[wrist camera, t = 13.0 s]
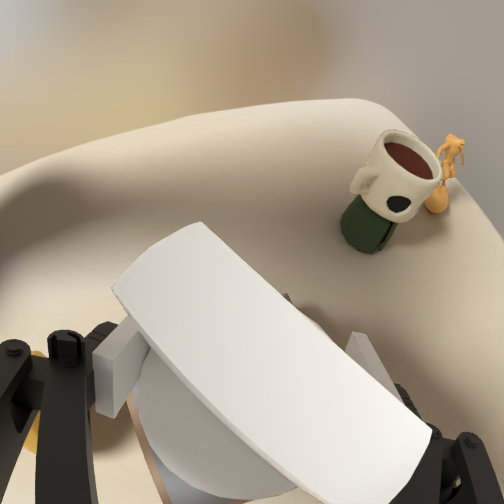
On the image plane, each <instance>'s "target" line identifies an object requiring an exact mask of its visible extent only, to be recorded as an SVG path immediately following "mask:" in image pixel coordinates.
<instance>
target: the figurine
mask: <svg viewBox="0 0 504 504" xmlns="http://www.w3.org/2000/svg"><path fill="white" fill-rule="evenodd" d="M464 144H465V141H464V140H463V139H459V138H457V137H456V136H455V135H453V134H449V135H447V136H446V139H445V144H443V145H442V146H441V147H440V148H439V149H438V151H437V157H438V159H439V158H440V154H441V152H442V150H445V159H444V160H443V161H442V169H443V174H444V176H442V179H441V180H442V186H440V183H439V184H438V185H437V187H436V188H435V189H434V191H433V193H432V194H431V195H430V196H429V197H428V198H427V199H426V200H425V201H424V204H425V206H426V207H427V209H428V210H430V211H431V212H433V213H441V212H443V211H444V210H446V208H447V207H448V205H449V195H448V193H447V188H446V186H445V180H447V179H448V178H453V177H455V175H456V174H455V166H454V165H455V159H454V157H455V156H456V155H458V153H459V152H460V154H461V158H462V166H463V164H464V155H463V151H462V150H463V149H462V148H463V147H464ZM449 173H450V174H449Z"/></svg>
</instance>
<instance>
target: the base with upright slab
mask: <svg viewBox="0 0 504 504" xmlns="http://www.w3.org/2000/svg"><path fill="white" fill-rule="evenodd" d="M111 289H112V291H113V292H114V294H115V295H116V297H117V299H118V300H119V302H120V303H121V305H122V306H123V308H124V309H125V311H126V312H127V314H128V315H129V317H130V318H131V320H132V321H133V323H134V324H135V326H136V327H137V329H138V330H139V331H140V333H141V334H142V336H143V337H144V339H145V340H146V341H147V343H148V344H149V346H150V347H151V349H150V351H149V353H148V355H147V357H146V358H145V360H144V362H143V364H142V369H141V374H140V379H139V384H138V389H137V396H138V408H139V418H140V421H141V424H142V427H143V429H144V432H145V434H146V437H147V439H148V442H149V444H150V446H151V448H152V449H153V450H154V452H155V453H156V454H157V456H158V457H159V458H160V459H161V461H162V462H163V463H164V465H165V466H166V467H167V468H168V469H169V470H170V471H171V472H173V473H174V474H175V475H177V476H178V477H179V478H181V479H182V480H184V481H185V482H186V483H188V484H189V485H190V486H192V487H194V488H197V489H199V490H202V491H204V492H207V493H210V494H212V495H215V496H218V497H222V498H231V499H241V500H255V499H261V498H267V497H273V496H278V495H281V494H283V493H286V492H288V491H290V490H292V489H294V488H296V487H299V488H300V489H302V490H303V491H305V492H307V493H308V494H310V495H312V496H313V497H315V498H316V499H318V500H320V501H321V502H323V503H325V504H388V503H389V502H390V501H391V500H392V499H393V498H394V497H395V496H396V495H397V494H398V493H399V492H400V491H401V490H402V488H403V487H404V486H405V485H406V484H407V483H408V481H409V480H410V478H411V476H412V474H413V473H414V471H415V469H416V467H417V465H418V464H419V462H420V460H421V458H422V456H423V454H424V452H425V450H426V448H427V446H428V444H429V441H430V438H431V434H432V429H431V428H430V427H429V426H427V425H426V424H425V423H424V422H423V421H422V420H421V419H419V418H418V417H417V416H416V415H415V414H414V413H413V412H411V411H410V410H409V409H408V408H407V407H406V406H405V405H403V404H402V403H401V402H400V401H399V400H398V399H397V398H396V397H394V396H393V395H392V394H391V393H390V392H389V391H388V390H386V389H385V388H384V387H383V386H382V385H381V384H380V383H379V382H377V381H376V380H375V379H374V378H373V377H372V376H371V375H370V374H368V373H367V372H366V371H365V370H364V369H363V368H362V367H361V366H359V365H358V364H357V363H356V362H355V361H354V360H353V359H352V358H351V357H349V356H348V355H347V354H346V353H345V352H344V351H343V350H342V349H340V348H339V347H338V346H337V345H336V344H335V343H334V342H333V341H332V339H331V338H330V337H329V336H328V335H327V334H326V333H325V331H324V330H323V329H322V328H321V327H320V326H319V325H318V324H317V323H316V322H314V321H313V320H311V319H310V318H309V317H307V316H306V315H304V314H303V313H301V312H300V311H299V310H297V309H296V308H295V307H294V306H293V305H292V304H291V303H290V302H288V301H287V300H286V299H285V298H284V297H283V296H282V295H281V294H280V293H279V292H277V291H276V290H275V289H274V288H273V287H272V286H271V285H270V284H269V283H268V282H267V281H265V280H264V279H263V278H262V277H261V276H260V275H259V274H258V273H257V272H256V271H254V270H253V269H252V268H251V267H250V266H249V265H248V264H247V263H246V262H245V261H244V260H243V259H241V258H240V257H239V256H238V255H237V254H236V253H235V252H234V251H233V250H232V249H231V248H229V247H228V246H227V245H226V244H225V243H224V242H223V241H222V240H221V239H220V238H219V237H218V236H216V235H215V234H214V233H213V232H212V231H211V230H210V229H209V228H208V227H207V226H206V225H205V224H204V223H202V222H197V223H193V224H190V225H187V226H185V227H184V228H182V229H180V230H178V231H176V232H175V233H173V234H171V235H169V236H167V237H166V238H164V239H162V240H160V241H158V242H157V243H155V244H153V245H151V246H150V247H149V248H148V249H147V250H146V251H145V252H144V253H142V254H141V255H140V256H139V257H138V258H137V259H136V260H135V261H134V262H133V263H132V264H131V265H130V266H129V267H128V268H127V269H126V270H125V271H123V272H122V273H121V274H120V275H119V276H118V278H117V279H116V281H115V283H114V284H113V286H112V288H111Z"/></svg>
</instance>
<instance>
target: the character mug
mask: <svg viewBox="0 0 504 504" xmlns="http://www.w3.org/2000/svg"><path fill="white" fill-rule="evenodd" d="M442 176H443V169H442V164H441V163H440V161H439V159H438V157H437V156H436V154H435V153H434V152H433V151H432V150H431V149H430V148H429V147H428V146H427V145H426V144H424V143H423V142H422V141H420V140H419V139H417V138H416V137H414V136H412V135H410V134H407V133H405V132H402V131H397V130H388V131H384V132H383V133H382V134H381V135H380V137H379V138H378V140H377V142H376V144H375V146H374V148H373V150H372V152H371V154H370V156H369V158H368V160H367V162H366V164H365V166H364V167H361V168H359V170H358V171H357V172H356V174H355V176H354V178H353V180H352V182H351V184H350V193H352V194H354V195H358V196H357V197H356V198H355V199H354V200H353V202H352V203H351V204H350V205H349V206H348V208H347V209H346V211H345V212H344V213H343V215H342V218H341V222H340V223H341V227H342V232H343V234H344V236H345V237H346V239H347V241H348V243H349V244H351V245H352V246H353V247H355V248H356V249H358V250H359V251H363V252H367V253H372V252H373V251H374V249H375V248H376V246H378V245H379V244H381V243H382V242H384V243H383V244H382V246H381V247H380V249H379V251H381V250H382V249H383V247H384V246H385V245H386V244H387V242H388V241H389V239H390V237H391V236H392V234H393V232H394V230H395V228H396V226H397V224H398V223H403V222H406V221H408V220H409V219H411V218H412V217H414V216H415V215H416V214H417V212H418V211H419V209H420V207H421V205H422V203H423V202H424V201H425V200H426V199H427V198H428V197H429V196H430V195H431V194H432V193H433V191H434V189H435V188H436V187H437V185H438V184H439V183H440V181H441V179H442Z"/></svg>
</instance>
